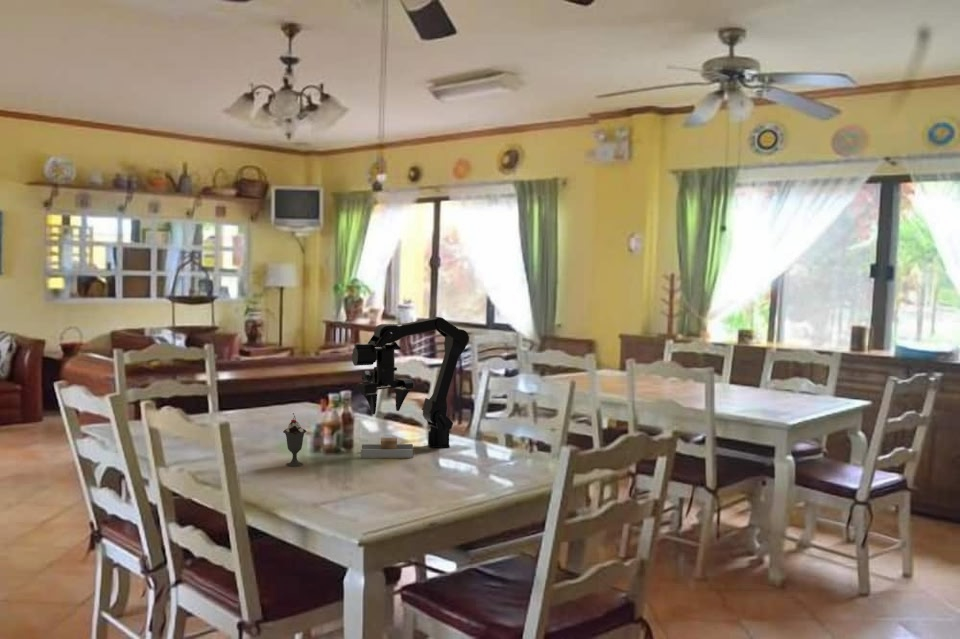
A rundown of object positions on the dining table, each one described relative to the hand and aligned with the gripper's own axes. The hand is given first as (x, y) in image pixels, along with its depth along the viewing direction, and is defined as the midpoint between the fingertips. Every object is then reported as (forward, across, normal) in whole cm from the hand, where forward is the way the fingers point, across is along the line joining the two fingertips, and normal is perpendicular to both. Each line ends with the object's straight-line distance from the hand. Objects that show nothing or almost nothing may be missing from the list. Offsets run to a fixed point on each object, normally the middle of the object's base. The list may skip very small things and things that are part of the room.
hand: (385, 412), depth 270 cm
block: (+12, +3, +6) cm, 14 cm away
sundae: (+12, +33, +1) cm, 35 cm away
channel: (+12, +3, +5) cm, 14 cm away
